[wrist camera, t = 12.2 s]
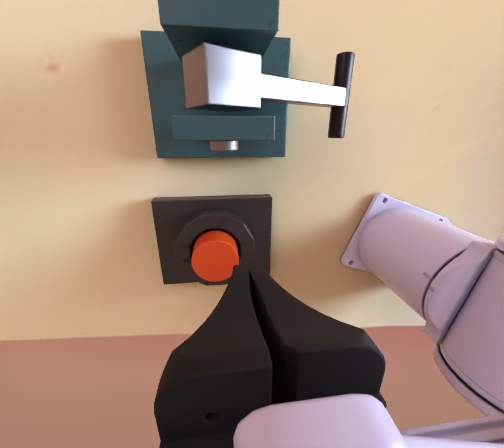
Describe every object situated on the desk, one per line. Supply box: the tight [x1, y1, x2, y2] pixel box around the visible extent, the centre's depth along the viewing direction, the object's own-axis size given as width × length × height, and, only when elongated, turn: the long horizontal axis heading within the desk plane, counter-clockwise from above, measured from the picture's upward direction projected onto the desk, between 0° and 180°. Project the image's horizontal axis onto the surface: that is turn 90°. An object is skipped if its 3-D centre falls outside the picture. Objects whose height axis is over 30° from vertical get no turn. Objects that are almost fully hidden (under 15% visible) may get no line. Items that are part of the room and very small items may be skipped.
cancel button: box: [191, 230, 239, 282], centre depth 19 cm, size 4×4×2 cm
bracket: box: [140, 0, 291, 158], centre depth 14 cm, size 10×8×10 cm
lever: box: [182, 42, 355, 138], centre depth 13 cm, size 11×5×2 cm, turn 90°
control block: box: [151, 194, 272, 286], centre depth 21 cm, size 10×8×3 cm
